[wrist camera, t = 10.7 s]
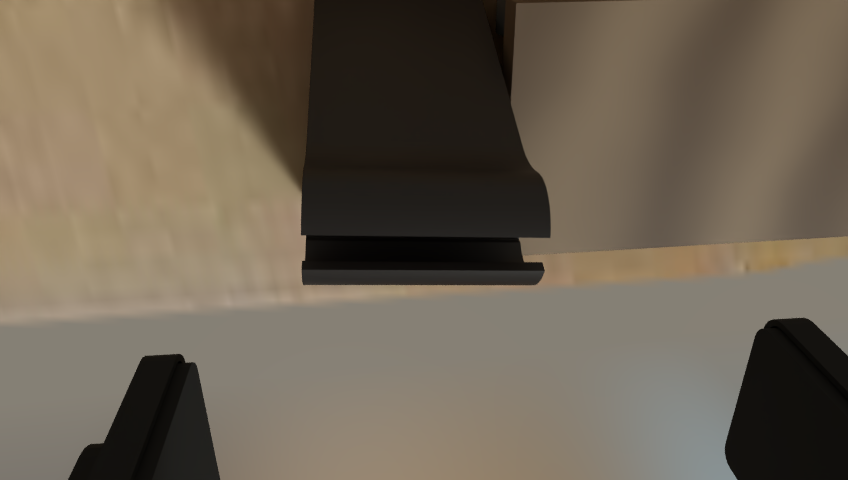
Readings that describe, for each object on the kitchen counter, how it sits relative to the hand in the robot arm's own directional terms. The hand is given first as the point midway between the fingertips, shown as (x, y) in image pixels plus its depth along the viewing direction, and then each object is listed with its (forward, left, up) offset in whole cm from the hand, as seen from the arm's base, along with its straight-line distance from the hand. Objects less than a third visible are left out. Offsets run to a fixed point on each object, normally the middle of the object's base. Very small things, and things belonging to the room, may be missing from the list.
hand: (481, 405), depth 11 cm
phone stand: (0, 0, -18) cm, 18 cm away
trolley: (-10, 0, -17) cm, 20 cm away
